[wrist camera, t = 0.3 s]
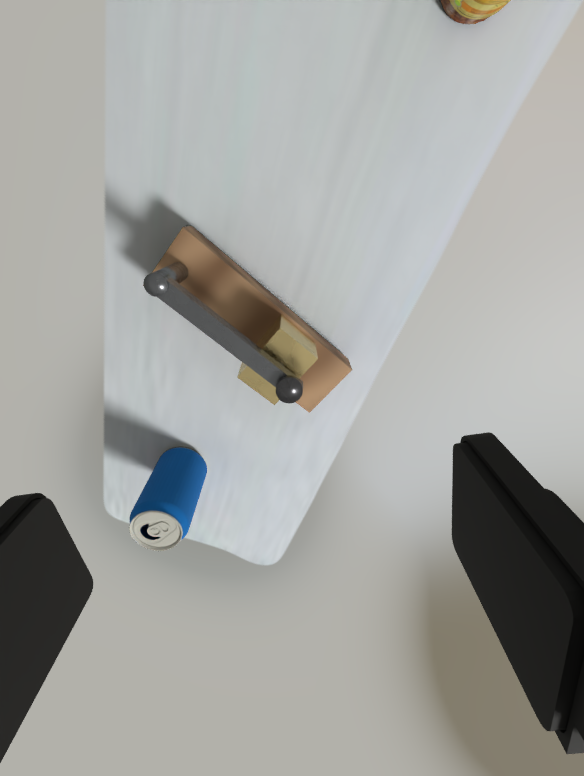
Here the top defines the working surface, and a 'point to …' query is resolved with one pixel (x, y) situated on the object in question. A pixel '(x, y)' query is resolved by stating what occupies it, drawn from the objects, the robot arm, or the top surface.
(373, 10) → the top surface
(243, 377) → the tan knob block
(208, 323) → the lever
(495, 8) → the sauce bottle
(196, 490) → the beverage can
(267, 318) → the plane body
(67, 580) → the robot arm
